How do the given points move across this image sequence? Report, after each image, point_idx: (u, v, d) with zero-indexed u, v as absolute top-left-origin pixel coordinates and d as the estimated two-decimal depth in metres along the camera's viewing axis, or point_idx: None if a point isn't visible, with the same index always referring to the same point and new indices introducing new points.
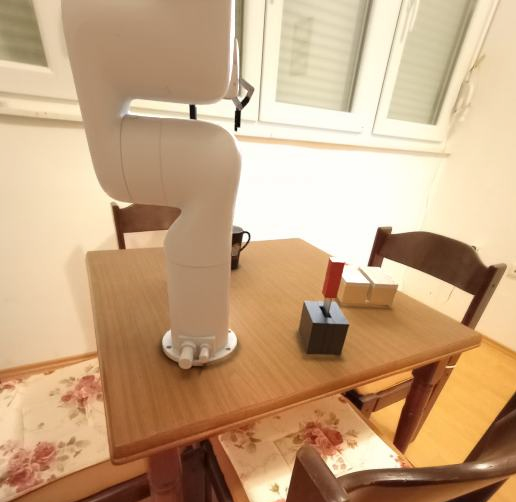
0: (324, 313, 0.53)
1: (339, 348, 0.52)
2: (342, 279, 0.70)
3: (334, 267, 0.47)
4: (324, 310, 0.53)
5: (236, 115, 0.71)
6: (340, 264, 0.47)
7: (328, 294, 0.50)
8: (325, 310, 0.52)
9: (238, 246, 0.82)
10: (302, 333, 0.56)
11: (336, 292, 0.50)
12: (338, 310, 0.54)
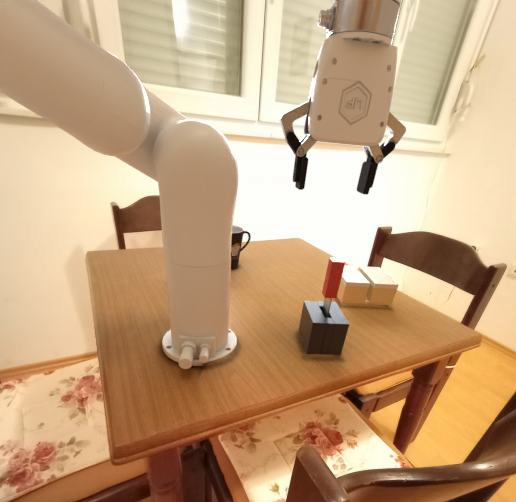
0: (324, 313, 0.53)
1: (339, 348, 0.52)
2: (342, 279, 0.70)
3: (334, 267, 0.47)
4: (324, 310, 0.53)
5: (371, 171, 0.44)
6: (340, 264, 0.47)
7: (328, 294, 0.50)
8: (325, 310, 0.52)
9: (238, 246, 0.82)
10: (302, 333, 0.56)
11: (336, 292, 0.50)
12: (338, 310, 0.54)
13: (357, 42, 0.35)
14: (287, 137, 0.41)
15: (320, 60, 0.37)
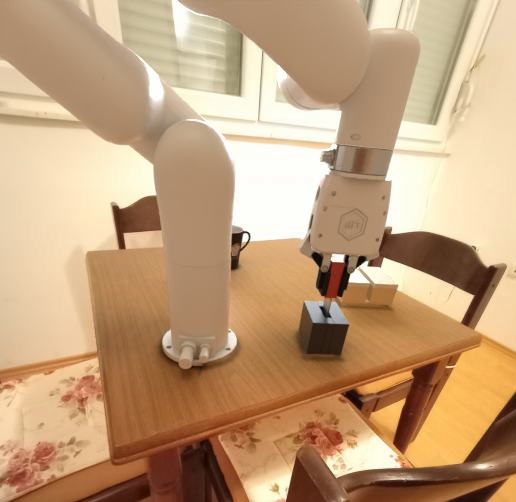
0: (324, 313, 0.53)
1: (339, 348, 0.52)
2: None
3: (334, 267, 0.47)
4: (324, 310, 0.53)
5: (344, 280, 0.48)
6: (340, 264, 0.47)
7: (328, 294, 0.50)
8: (325, 310, 0.52)
9: (238, 246, 0.82)
10: (302, 333, 0.56)
11: (336, 292, 0.50)
12: (338, 310, 0.54)
13: (354, 179, 0.39)
14: (313, 259, 0.47)
15: (321, 190, 0.41)
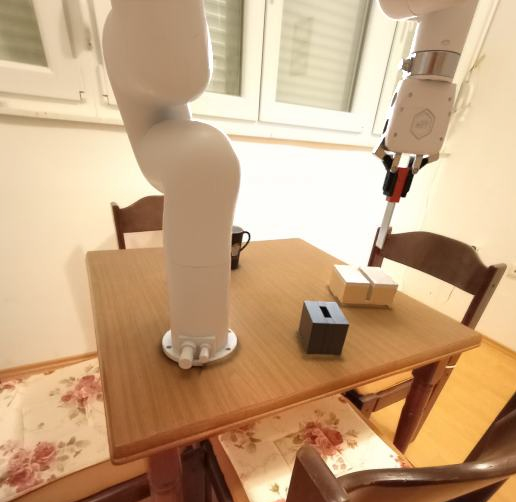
0: (386, 219, 0.63)
1: (339, 348, 0.52)
2: (342, 279, 0.70)
3: (400, 172, 0.58)
4: (386, 216, 0.63)
5: (409, 180, 0.58)
6: (405, 169, 0.57)
7: (392, 198, 0.60)
8: (388, 215, 0.62)
9: (238, 246, 0.82)
10: (302, 333, 0.56)
11: (399, 196, 0.60)
12: (338, 310, 0.54)
13: (428, 81, 0.49)
14: (385, 160, 0.56)
15: (399, 93, 0.51)
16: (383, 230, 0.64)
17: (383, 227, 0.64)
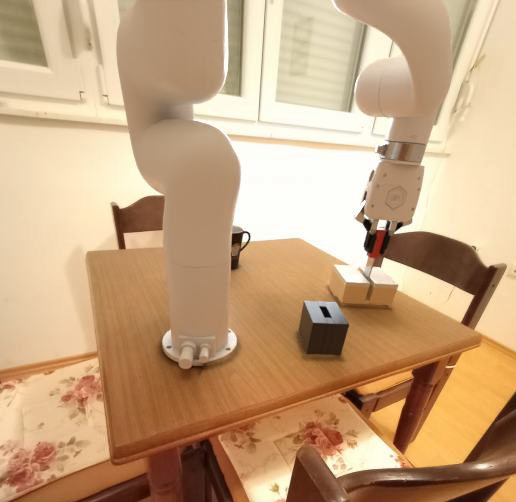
0: (367, 270, 0.71)
1: (339, 348, 0.52)
2: (342, 279, 0.70)
3: (378, 234, 0.66)
4: (367, 268, 0.71)
5: (386, 240, 0.66)
6: (383, 231, 0.65)
7: (372, 255, 0.68)
8: (368, 268, 0.70)
9: (238, 246, 0.82)
10: (302, 333, 0.56)
11: (378, 253, 0.68)
12: (338, 310, 0.54)
13: (399, 165, 0.57)
14: (364, 224, 0.64)
15: (375, 173, 0.59)
16: None
17: (365, 277, 0.72)
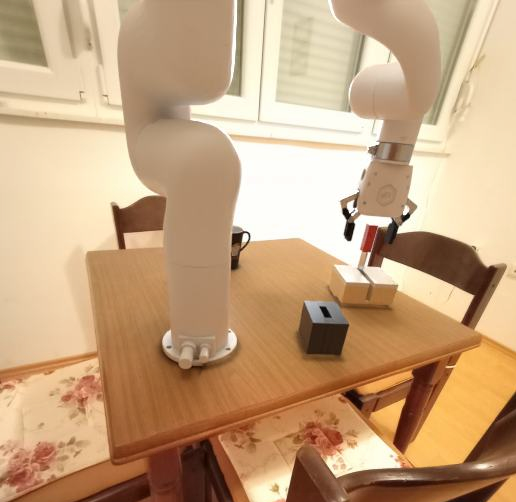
0: (361, 264, 0.75)
1: (339, 348, 0.52)
2: (342, 279, 0.70)
3: (371, 229, 0.69)
4: (360, 262, 0.75)
5: (394, 231, 0.69)
6: (375, 227, 0.69)
7: (365, 249, 0.72)
8: (362, 262, 0.74)
9: (238, 246, 0.82)
10: (302, 333, 0.56)
11: (371, 248, 0.72)
12: (338, 310, 0.54)
13: (389, 164, 0.61)
14: (343, 211, 0.67)
15: (367, 171, 0.62)
16: None
17: (359, 270, 0.76)
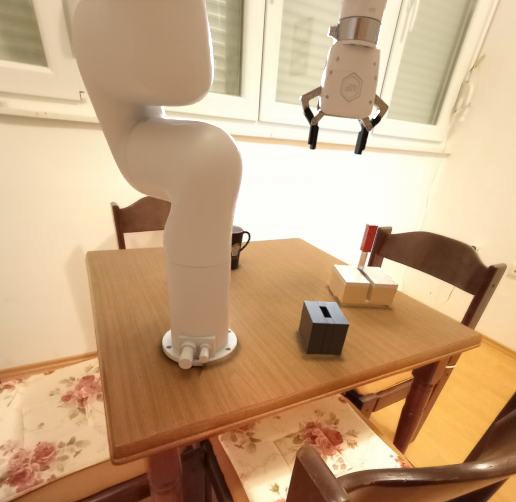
0: (361, 264, 0.75)
1: (339, 348, 0.52)
2: (342, 279, 0.70)
3: (371, 229, 0.69)
4: (360, 262, 0.75)
5: (364, 137, 0.62)
6: (375, 227, 0.69)
7: (365, 249, 0.72)
8: (362, 262, 0.74)
9: (238, 246, 0.82)
10: (302, 333, 0.56)
11: (371, 248, 0.72)
12: (338, 310, 0.54)
13: (353, 46, 0.54)
14: (305, 111, 0.60)
15: (328, 58, 0.55)
16: None
17: (359, 270, 0.76)
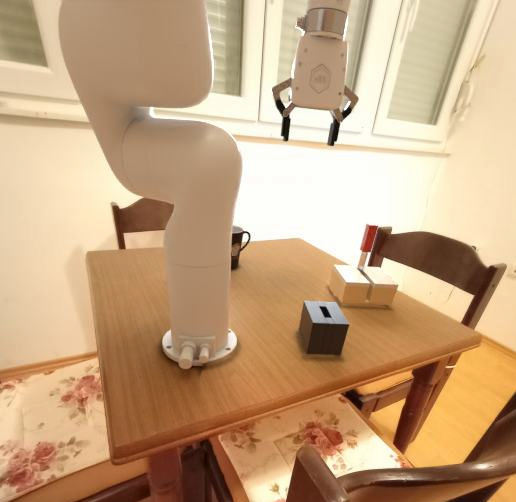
0: (361, 264, 0.75)
1: (339, 348, 0.52)
2: (342, 279, 0.70)
3: (371, 229, 0.69)
4: (360, 262, 0.75)
5: (335, 128, 0.63)
6: (375, 227, 0.69)
7: (365, 249, 0.72)
8: (362, 262, 0.74)
9: (238, 246, 0.82)
10: (302, 333, 0.56)
11: (371, 248, 0.72)
12: (338, 310, 0.54)
13: (320, 38, 0.54)
14: (276, 103, 0.61)
15: (297, 50, 0.56)
16: None
17: (359, 270, 0.76)
